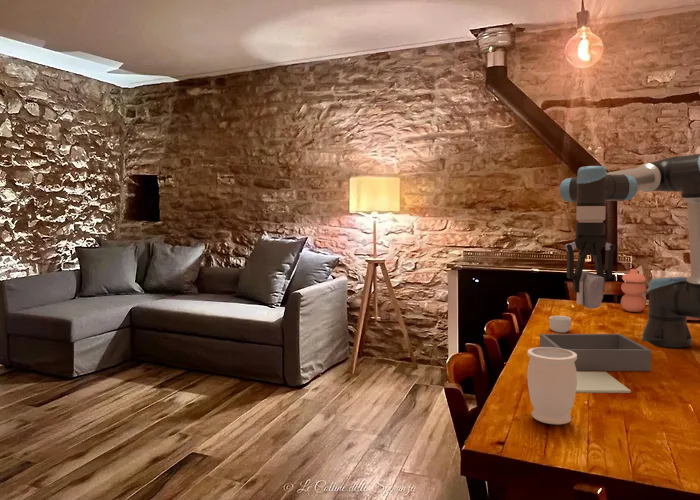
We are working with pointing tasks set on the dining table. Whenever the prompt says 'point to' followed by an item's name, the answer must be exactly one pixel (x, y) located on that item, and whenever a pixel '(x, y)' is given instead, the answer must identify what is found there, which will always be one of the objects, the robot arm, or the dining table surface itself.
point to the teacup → (560, 323)
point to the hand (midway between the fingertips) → (588, 303)
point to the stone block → (592, 289)
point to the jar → (552, 383)
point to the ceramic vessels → (635, 292)
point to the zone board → (598, 383)
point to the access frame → (601, 351)
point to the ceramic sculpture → (646, 288)
